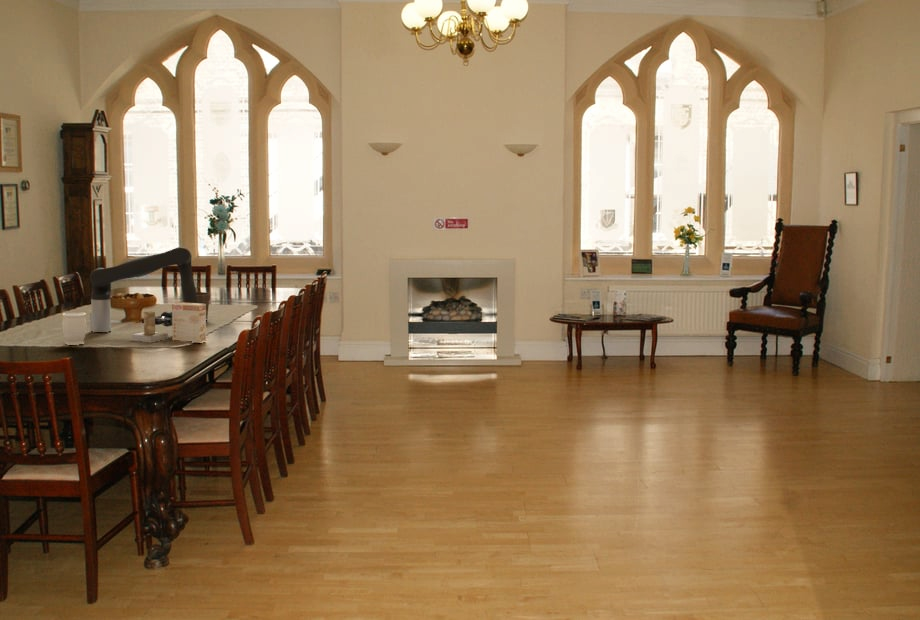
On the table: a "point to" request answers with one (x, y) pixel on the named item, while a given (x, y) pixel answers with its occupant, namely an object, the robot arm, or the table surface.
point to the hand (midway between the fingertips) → (148, 322)
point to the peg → (149, 323)
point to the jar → (74, 327)
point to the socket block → (149, 337)
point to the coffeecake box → (189, 322)
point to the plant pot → (203, 300)
